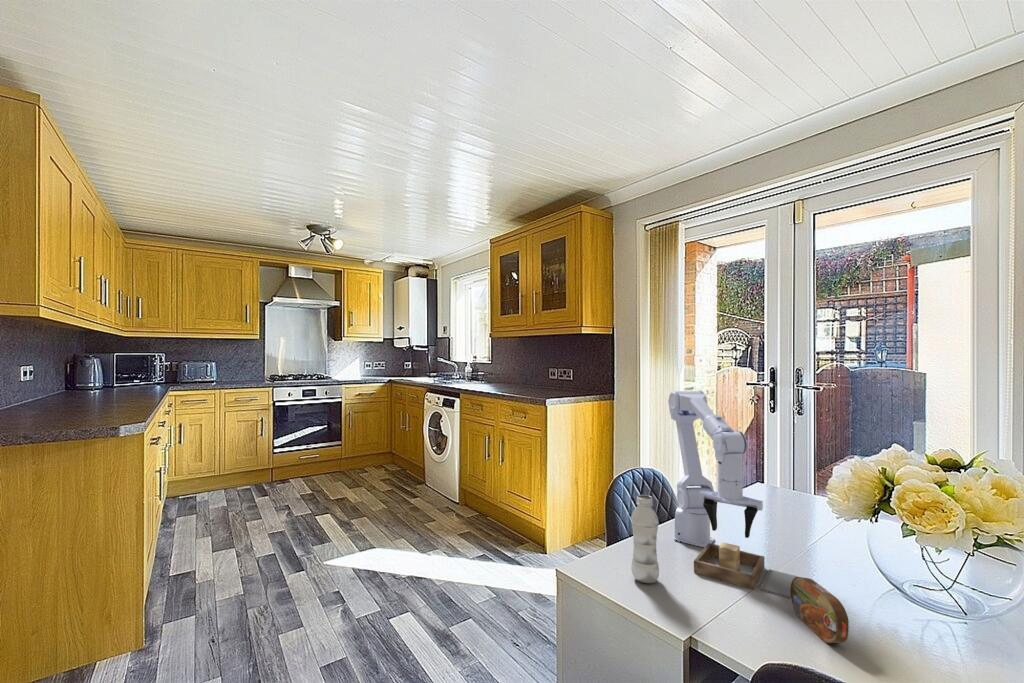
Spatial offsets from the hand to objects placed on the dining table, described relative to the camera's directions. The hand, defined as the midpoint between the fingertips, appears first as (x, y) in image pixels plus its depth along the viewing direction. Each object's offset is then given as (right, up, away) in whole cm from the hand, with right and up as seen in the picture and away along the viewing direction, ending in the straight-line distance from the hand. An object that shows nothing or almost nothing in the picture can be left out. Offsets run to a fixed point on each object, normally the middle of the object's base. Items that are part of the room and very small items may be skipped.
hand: (730, 532), depth 117 cm
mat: (+9, -9, -8) cm, 15 cm away
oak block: (0, -10, 0) cm, 10 cm away
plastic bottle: (-23, -10, -5) cm, 26 cm away
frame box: (0, -9, 0) cm, 9 cm away
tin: (+6, -9, -25) cm, 27 cm away
